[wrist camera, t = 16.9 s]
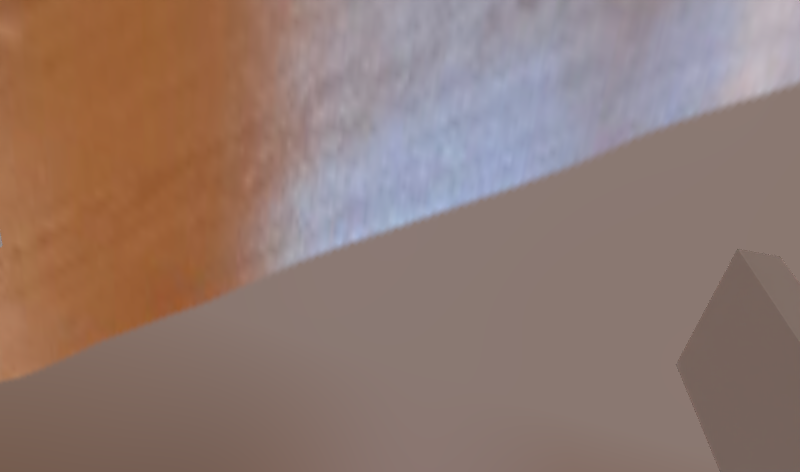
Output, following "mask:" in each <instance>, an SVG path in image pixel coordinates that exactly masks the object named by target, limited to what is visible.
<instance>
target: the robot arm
mask: <svg viewBox="0 0 800 472" xmlns="http://www.w3.org/2000/svg"><path fill="white" fill-rule="evenodd" d="M1 246H2V240H1V234H0V247H1ZM676 366H677V368H678V371H679V373H680V375H681V378H682V380H683V383H684V385H685V388H686V390H687V393H688V395H689V397H690V399H691V402H692V405H693V407H694V410H695V412H696V414H697V417H698V419H699V422H700V424H701V427H702V429H703V431H704V434H705V436H706V439H707V441H708V444H709V446H710V449H711V451H712V453H713V456H714V458H715V461H716V463H717V466H718V468H719V471H720V472H800V283H799V281H798V280H797V279H796V277H795V276H794V275H793V273H792V272H791V271H790V269H789V268H788V267H787V265H786V264H785V263H784V261H783V260H782V258H781V257H779V256H773V255H769V254H763V253H757V252H752V251H747V250H741V249H737V251H736V253H735V254H734V257H733V258H732V260H731V262H730V264H729V266H728V268H727V270H726V272H725V273H724V275H723V277H722V279H721V281H720V283H719V285H718V286H717V289H716V290H715V292H714V294H713V296H712V298H711V300H710V302H709V303H708V306H707V307H706V309H705V311H704V313H703V315H702V317H701V319H700V320H699V322H698V324H697V326H696V328H695V330H694V332H693V334H692V336H691V337H690V339H689V341H688V343H687V345H686V347H685V349H684V351H683V352H682V354H681V356H680V358H679V360H678V362H677V364H676Z"/></svg>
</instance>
